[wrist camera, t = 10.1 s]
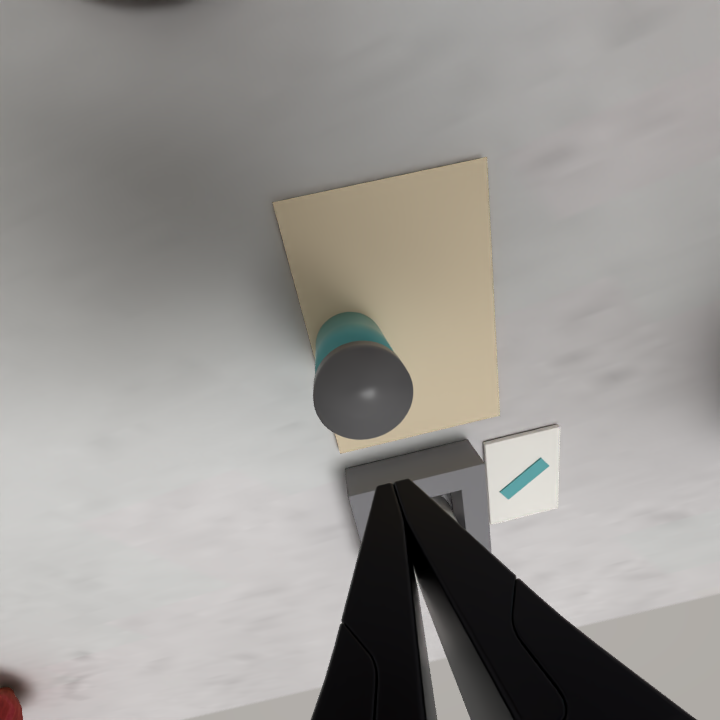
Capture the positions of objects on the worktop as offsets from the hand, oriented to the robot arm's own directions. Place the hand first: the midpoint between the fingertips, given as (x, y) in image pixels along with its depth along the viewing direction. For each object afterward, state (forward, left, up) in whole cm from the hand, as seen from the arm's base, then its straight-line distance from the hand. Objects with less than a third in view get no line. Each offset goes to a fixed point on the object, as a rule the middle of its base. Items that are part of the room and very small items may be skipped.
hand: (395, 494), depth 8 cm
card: (-9, +12, -11) cm, 19 cm away
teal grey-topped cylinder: (0, 0, -10) cm, 11 cm away
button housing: (-2, +12, -11) cm, 16 cm away
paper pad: (-3, -1, -11) cm, 11 cm away
